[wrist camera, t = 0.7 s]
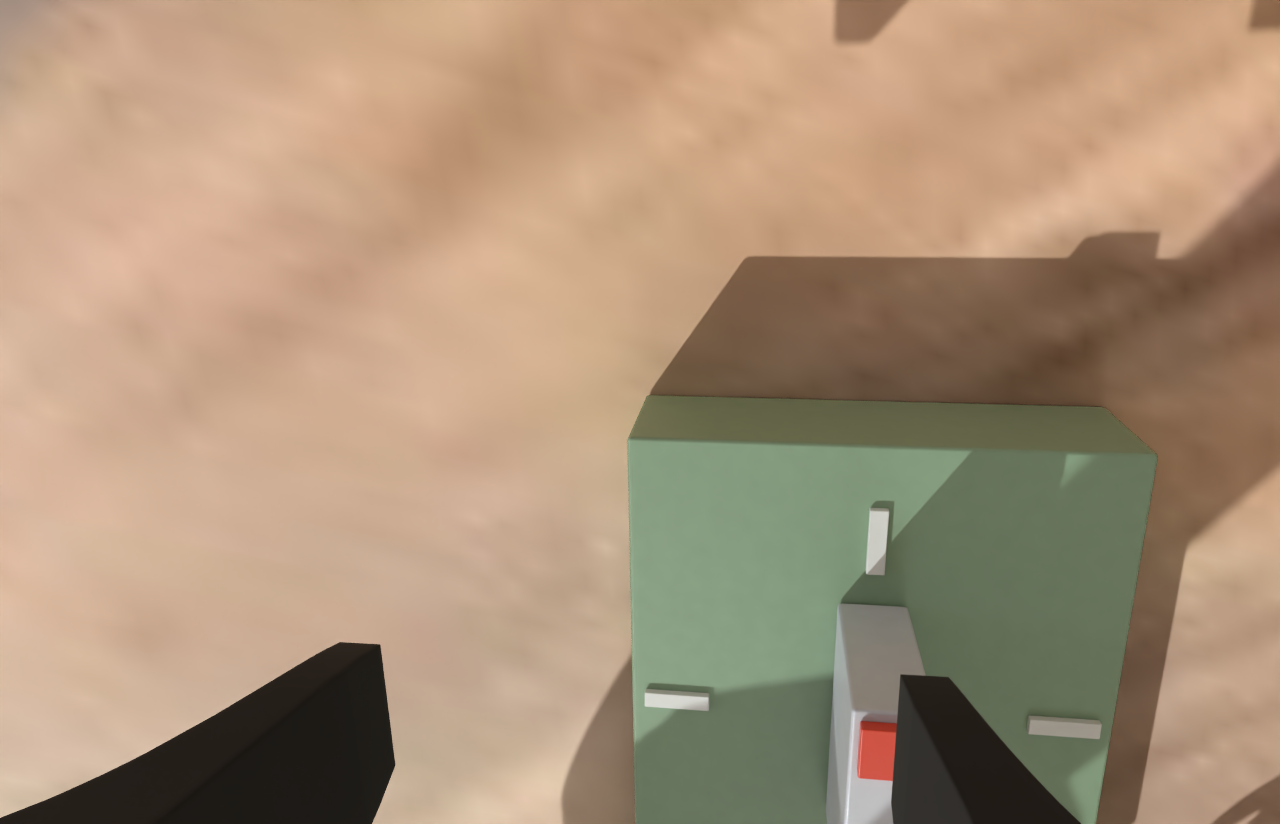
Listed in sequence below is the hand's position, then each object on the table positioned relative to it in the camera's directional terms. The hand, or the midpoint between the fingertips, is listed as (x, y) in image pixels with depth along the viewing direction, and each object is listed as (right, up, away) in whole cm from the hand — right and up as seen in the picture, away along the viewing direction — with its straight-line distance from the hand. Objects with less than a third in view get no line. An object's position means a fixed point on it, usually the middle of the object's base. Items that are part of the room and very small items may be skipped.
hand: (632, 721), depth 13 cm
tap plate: (+5, -2, +10) cm, 12 cm away
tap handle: (+5, -2, +7) cm, 9 cm away
